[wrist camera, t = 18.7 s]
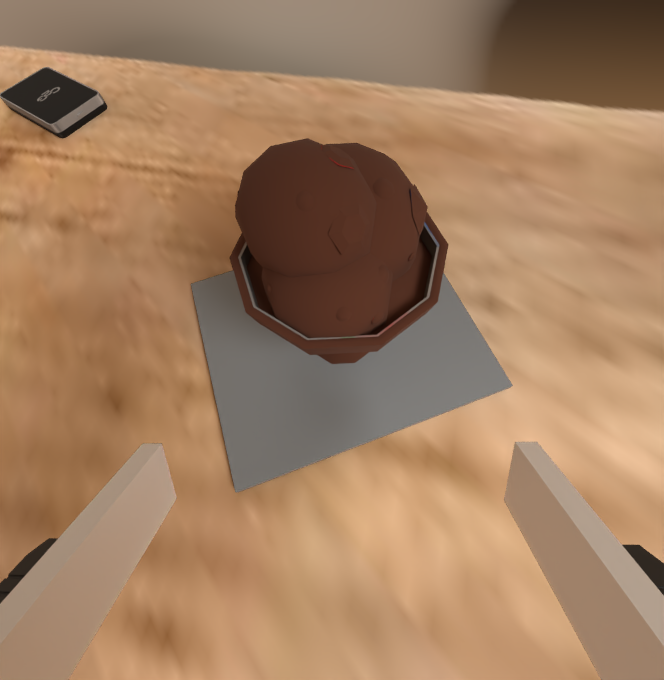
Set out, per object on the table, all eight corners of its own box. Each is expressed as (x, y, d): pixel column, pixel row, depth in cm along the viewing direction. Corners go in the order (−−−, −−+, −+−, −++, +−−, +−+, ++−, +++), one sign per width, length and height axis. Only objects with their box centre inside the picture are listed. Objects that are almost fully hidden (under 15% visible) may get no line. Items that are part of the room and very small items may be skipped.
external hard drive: (59, 83, 43) (46, 65, 41) (113, 111, 40) (101, 93, 38) (12, 112, 41) (-4, 95, 39) (66, 143, 38) (51, 126, 36)
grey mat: (406, 219, 30) (408, 215, 30) (509, 388, 24) (512, 385, 23) (193, 287, 29) (190, 283, 28) (238, 492, 22) (235, 492, 21)
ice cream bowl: (367, 431, 22) (397, 340, 9) (242, 348, 25) (116, 183, 12) (439, 314, 26) (542, 115, 12) (321, 253, 29) (296, 37, 15)
